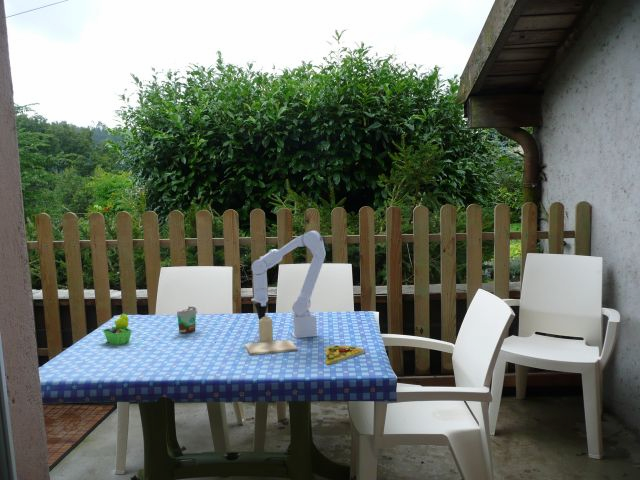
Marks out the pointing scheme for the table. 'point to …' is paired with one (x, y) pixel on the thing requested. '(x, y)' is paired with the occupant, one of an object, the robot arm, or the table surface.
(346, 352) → the pizza slice
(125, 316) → the green potted plant
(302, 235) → the robot arm
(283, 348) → the board
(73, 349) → the table surface
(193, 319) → the food container
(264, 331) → the candle
